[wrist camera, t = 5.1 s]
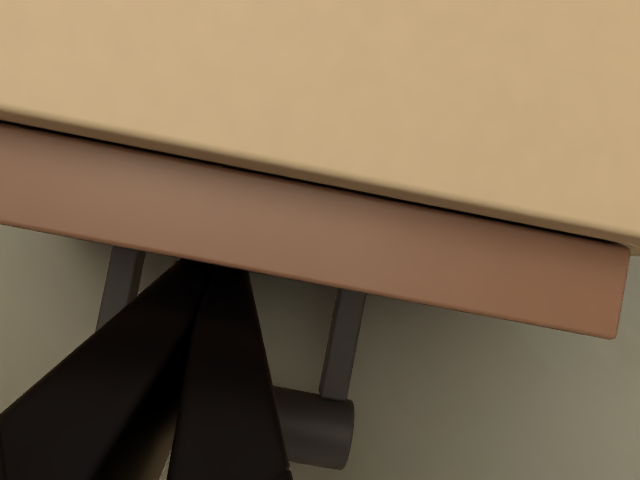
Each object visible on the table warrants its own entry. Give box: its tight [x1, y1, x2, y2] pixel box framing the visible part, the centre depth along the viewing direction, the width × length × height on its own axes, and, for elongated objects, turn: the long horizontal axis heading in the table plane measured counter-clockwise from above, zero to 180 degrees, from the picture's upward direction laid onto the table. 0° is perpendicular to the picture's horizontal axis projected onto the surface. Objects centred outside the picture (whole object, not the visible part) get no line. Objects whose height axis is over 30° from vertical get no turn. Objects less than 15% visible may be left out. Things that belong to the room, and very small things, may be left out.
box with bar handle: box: [0, 123, 631, 470], centre depth 11 cm, size 17×10×8 cm, turn 169°
